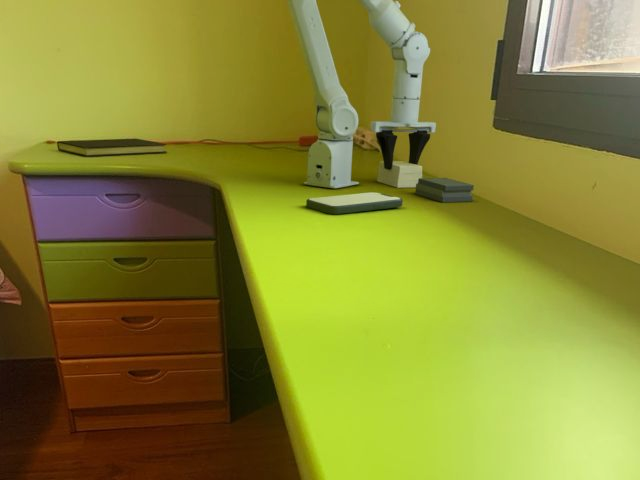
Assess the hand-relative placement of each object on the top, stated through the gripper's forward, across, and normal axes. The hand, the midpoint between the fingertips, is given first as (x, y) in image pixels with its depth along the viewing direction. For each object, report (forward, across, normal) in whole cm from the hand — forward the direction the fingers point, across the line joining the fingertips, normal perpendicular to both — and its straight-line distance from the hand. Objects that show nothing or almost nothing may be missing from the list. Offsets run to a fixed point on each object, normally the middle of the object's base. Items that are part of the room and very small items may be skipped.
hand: (400, 168), depth 148 cm
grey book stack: (+3, 0, -18) cm, 18 cm away
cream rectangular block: (+3, 0, 0) cm, 3 cm away
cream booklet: (0, 0, 0) cm, 0 cm away
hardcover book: (+3, -50, +66) cm, 83 cm away
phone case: (+3, -23, -24) cm, 33 cm away
